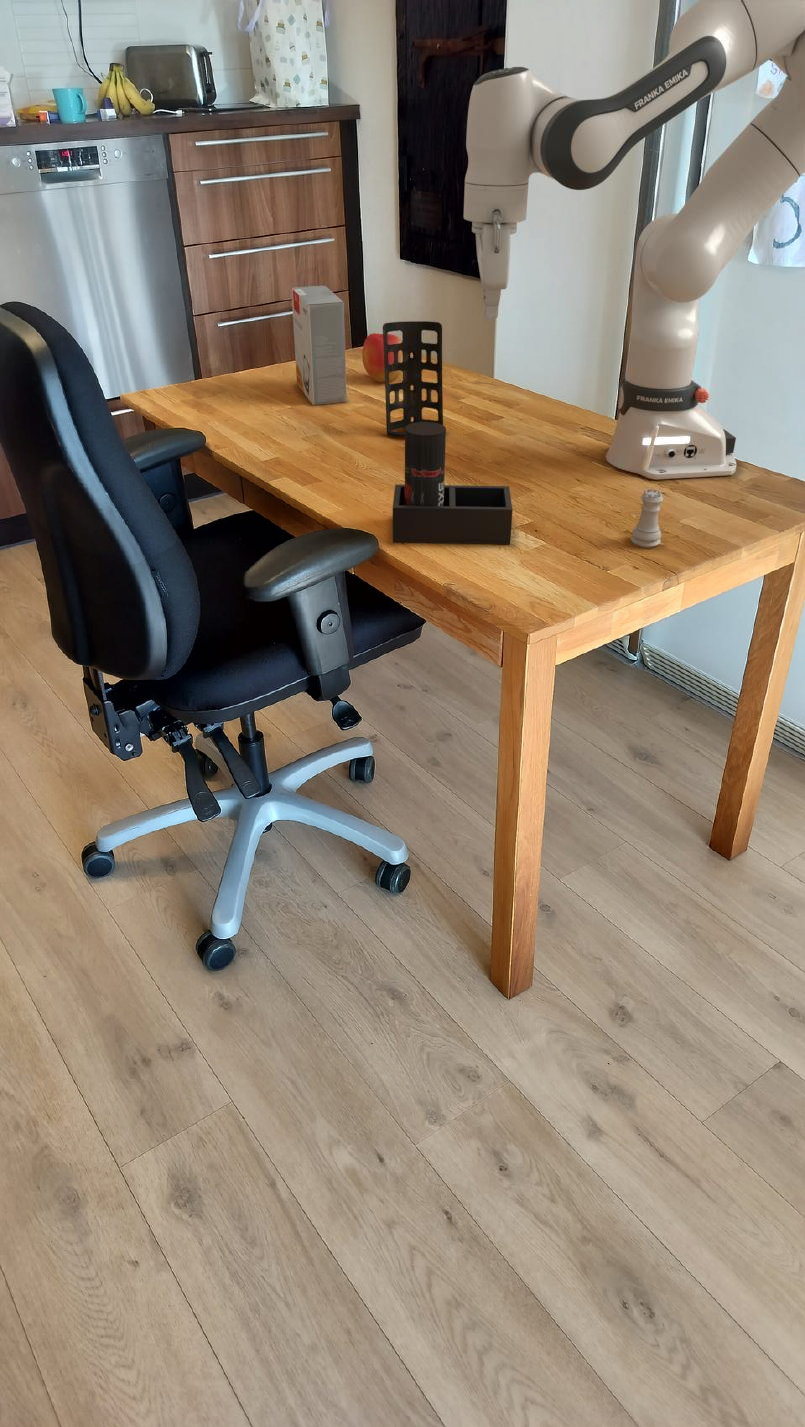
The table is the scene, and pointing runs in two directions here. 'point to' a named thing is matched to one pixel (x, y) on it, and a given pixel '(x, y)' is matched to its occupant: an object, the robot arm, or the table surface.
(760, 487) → the table surface
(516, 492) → the table surface
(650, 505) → the rook chess piece
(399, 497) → the box
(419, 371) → the holder
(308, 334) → the hard drive box
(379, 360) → the apple
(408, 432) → the deodorant
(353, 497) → the table surface
